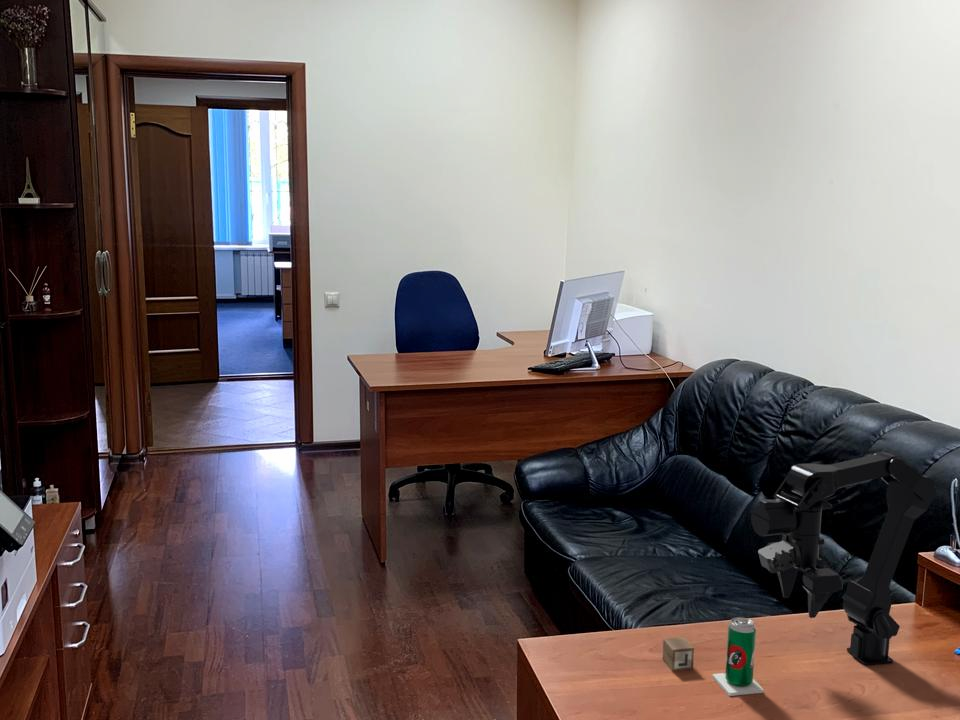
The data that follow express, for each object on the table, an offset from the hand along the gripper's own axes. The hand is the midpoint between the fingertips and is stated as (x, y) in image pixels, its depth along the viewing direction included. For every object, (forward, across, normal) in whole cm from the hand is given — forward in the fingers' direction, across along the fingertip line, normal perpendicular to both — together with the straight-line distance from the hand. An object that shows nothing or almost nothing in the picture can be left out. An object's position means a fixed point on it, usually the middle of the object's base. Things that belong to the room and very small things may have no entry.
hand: (798, 607), depth 171 cm
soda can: (+13, +3, -14) cm, 19 cm away
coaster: (+13, +3, -14) cm, 19 cm away
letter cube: (+13, -6, -22) cm, 26 cm away
